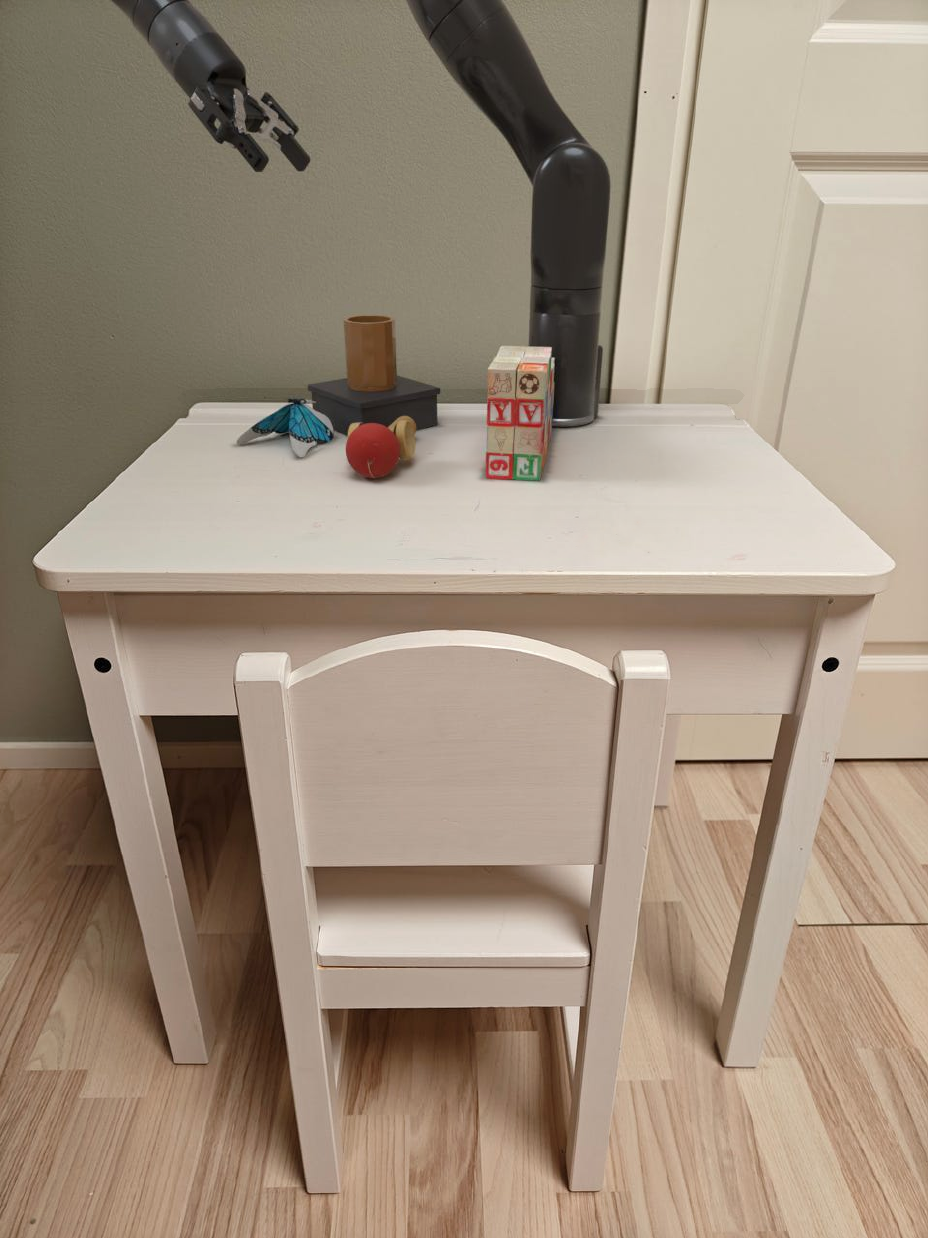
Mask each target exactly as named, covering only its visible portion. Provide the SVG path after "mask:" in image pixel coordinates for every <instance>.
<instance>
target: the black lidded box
mask: <svg viewBox="0 0 928 1238" xmlns="http://www.w3.org/2000/svg"><path fill="white" fill-rule="evenodd" d="M307 391H308V392H311V401H314V402H316V403H311V404H312V406H311V407H312V408H313V409H314V410H315V411H317V412H319V413H322V414H324V415H325V416H327V417H328V418H329V420H330V422H331V424H332V427H333V431H335V432H337V433H341V434H342V435H345V436H348V430H349V427H350V425H351V424H352V423H359V422H362V423H364V424H366V423H377V424H381V425H384V426H386V427H387V428H388V427H389V426H390V425H391V424H392V423H393V422H395V420H396V419H397V418H399V417H401V416H409V417H411V418H412V419H413V420H414V422H415V424H416V431H419V430H422V429H427V428H431V427H436V426H438V395H440V394H441V388H440V387H438V386H434V385H431V384H429V383H425V382H421V381H418V380H414V379H411V378H408V377H404V376H401V375H398V374H397V386H396V387H395V388H394V389H391V390H387V391H380V392H362V391H355V390H352V389H350V388H348V382H347V377H345V378H339V379H334V380H327V381H321V382H315V383H309V384H307Z"/></svg>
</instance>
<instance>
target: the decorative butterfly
mask: <svg viewBox="0 0 928 1238" xmlns="http://www.w3.org/2000/svg"><path fill="white" fill-rule="evenodd" d="M263 399H266V396H263ZM269 399H270V400H271V399H272V400H273V398H272V397H269ZM284 402H287V403H288V404H285V405H284V406H282V407H281V408H279V409H278V410H276V411H274V412H272V413H271V414H269V415H268V416H266V417H264V418H262V419H261V420H259V421H258V422H256V423H255V424H254V425H252V426H251V427H250V428H249V429H247V430H245V432H244V433H242V434H241V435H240V436H239V437H238V438H237V440H236V444H237V445H244V444H246V443H249V442H251V441H253V440H255V439H258V438H263V437H267V436H269V435H271V434H273V433H274V434H278V435H282V434H288V433H289V440H290V445H291V448H292V450H293V452H294V454H295V455H296V456H297V457H299V458H304V457H305V456H306V454H307V453H308V451H309V449H311V448H312V447H314V446H316V445H317V444H318V442H320V443H323V444H326V443H329V442H331V441H332V440H333V439H334V430H333V427H332V424H331V422H330V420H329V418H328V417H327V416H325V415H324V414H322V413H319V412H317V411H315V410H314V409H313V407H312V406H310V405H308V404H312V403H316V402H314V401H312V399H306V398H297V397H296V398H290V397H289V398H287V399H286V398H285V401H284Z"/></svg>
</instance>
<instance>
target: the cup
mask: <svg viewBox="0 0 928 1238" xmlns="http://www.w3.org/2000/svg"><path fill="white" fill-rule="evenodd" d="M343 334H344V348H345V349H344V350H345V367H346V378H347V382H348V388H350V389H352V390H355V391H362V392H380V391H387V390H391V389H394V388H395V387H396V386H397V375H398V370H397V369H398V367H397V345H396V344H397V341H396V319H395V317H393V316H388V315H383V314H381V315H380V314H362V315H361V314H360V315H351V316H347V317H345V318H344V319H343Z"/></svg>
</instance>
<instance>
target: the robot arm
mask: <svg viewBox="0 0 928 1238" xmlns="http://www.w3.org/2000/svg"><path fill="white" fill-rule="evenodd" d="M110 1H111V2H112V4H113V5H115V6H116V7H117V8H118V9H119V10H120V11H121V12H122V13H123V14H124V15H125V16H126V18H127V19H128V20H129V22H130V23H131V24H132V26H133V27H134V29H135V30H136V31H137V32H138V33H139V35H140V36H141V37H142V39H143V40H144V41H145V42H146V43H147V45H149V48H151V50H152V51H153V52H154V54H155V55H156V57H157V59H158V60H159V62H160V63H161V65H162V66H163V68H164V69H165V70H166V71H167V73H168V74H169V75H170V76H171V78H172V79H173V80H174V81H175V82H176V84H177V85H178V86H179V87H180V88H181V90H182V91H183V92H184V93H185V95H186V96H187V97H188V98H189V101H188V103H187V105H188V107H189V109H190V110H191V111H192V112H193V114H194V115H195V116H196V117H197V119H198V120H199V121H200V123H201V124H202V125H203V126H204V128H205V129H206V130H207V131H208V133H209V134H210V136H211V137H212V138H213V140H214V141H215V142H216V143H218V144H220V145H224V143H225V142H226V143H227V144H228V146H229V147H231V148H232V149H236V150H237V151H238V153H240V156H242V157H243V159H244V160H245V161H246V163H248V164H249V166H250V167H251V168H252V169H253V171H254V172H256V173H262V172H264V170H265V168H266V167H267V165H268V164H269V161H270V159H269V155H267V153H266V152H265V151H264V150H263V148H262V147H261V146H260V144H259V143H258V142H257V141H256V140H255V138H254V137H253V136H252V135H251V133H252V134H253V135H255V136H256V137H258V138H259V139H260V140H261V141H269V142H270V143H272V144H273V145H275V146H276V147H277V148H279V150H280V151H281V153H282V154H283V156H284V157H285V158H286V159H287V160H288V162H289V163H290V164H291V165H292V167H293V168H294V169H295V170H296V171H297V172H298V173H299V172H305V170H306V169H307V168H308V167H309V165H310V163H311V156H310V155H309V154H308V153H307V152H306V150H305V149H304V148H303V146H302V145H301V144H300V143H299V142H298V140H297V139H296V138H295V136H296V135H297V133H299V131H300V128H299V126H298V125H297V123H296V122H294V121H293V119H292V118H291V117H290V116H289V115H288V113H287V112H286V111H285V110H284V108H283V107H282V106H281V105H280V104H279V103H278V101H277V100H276V99H275V98H274V97H273V96H272V94H270V93H269V92H267V91H265V92H264V93H263V95H262V96H261V97H259V96H258V94H256V93H255V92H254V91H252V90H251V89H250V88H248V86H247V70H246V67H245V65H244V63H243V62H242V61H241V60H240V58H239V56H238V55H237V54H236V53H235V52H234V50H233V49H232V47H230V46H229V44H228V43H227V42H226V41H225V39H224V37H222V36H221V34H220V33H219V32H218V31H217V30H216V28H215V27H214V26H213V25H212V23H211V22H210V21H209V20H208V18H206V16H205V15H204V14H203V13H202V12H200V10H199V9H197V8H196V6H194V5H193V3H192V2H191V1H190V0H110ZM405 1H406V3H407V5H408V9H409V10H410V13H411V15H412V17H413V19H414V21H415V23H416V24H417V26H418V28H419V30H420V31H421V33H422V35H423V37H424V38H425V40H426V42H427V43H428V44H429V46H430V47H431V49H432V50H433V52H434V53H435V55H436V56H437V58H438V59H439V60H440V62H441V64H442V65H443V67H444V68H445V69H446V71H447V72H448V73H449V75H450V76H451V78H452V79H453V80H454V82H455V83H456V85H458V87H459V88H460V89H461V90H462V92H463V93H464V94H465V95H466V97H468V99H469V100H470V101H471V102H472V104H473V105H474V106H475V107H476V108H477V109H478V110H479V111H480V112H481V113H482V115H484V116H485V117H486V119H487V120H488V121H489V122H490V123H491V124H492V125H493V126H494V127H495V129H496V130H497V131H498V132H499V133H500V134H501V136H502V137H503V138H504V139H505V141H506V143H507V144H508V145H509V147H510V148H511V150H512V151H513V153H514V155H515V157H516V158H517V160H518V162H519V163H520V165H521V167H522V169H523V171H524V173H525V174H526V176H527V178H528V180H529V182H530V184H531V186H532V192H531V193H532V195H531V197H532V198H531V221H530V222H531V224H530V225H531V226H530V232H531V233H530V293H529V321H528V322H529V324H528V344H527V345H528V346H527V347H552V355H551V358H555V367H554V404H553V420H552V427H559V428H560V427H561V428H565V427H566V428H569V427H579V426H583V425H587V424H590V423H592V422H593V421H594V418H598V417H599V405H600V393H601V379H602V367H603V357H604V356H603V355H604V348H603V346H602V345H601V344H600V343H599V342H600V341H599V340H600V329H601V328H600V327H601V314H602V300H603V286H604V278H605V277H604V276H605V268H606V267H605V266H606V259H607V258H606V257H607V241H608V228H609V217H610V206H611V205H610V204H611V192H612V191H611V190H612V189H611V188H612V180H611V173H610V169H609V165H608V164H607V162H606V160H605V158H604V157H603V156H602V155H601V153H599V152H598V151H597V150H596V149H595V148H594V147H593V146H592V145H591V144H590V142H588V140H587V139H586V138H585V137H584V136H583V134H582V133H581V132H580V131H579V129H578V128H577V126H575V124H574V123H573V122H572V120H571V119H570V118H569V116H568V115H567V113H565V111H564V110H563V108H562V107H561V106H560V104H559V103H558V101H557V100H556V98H555V97H554V95H553V93H552V92H551V90H550V88H549V86H548V84H547V82H546V80H545V77H544V75H543V74H542V71H541V69H540V67H539V65H538V63H537V61H536V58H535V56H534V54H533V52H532V50H531V49H530V47H529V44H528V42H527V40H526V39H525V37H524V35H523V33H522V30H520V27H519V26H518V23H517V22H516V20H515V19H514V17H513V14H512V13H511V11H510V10H509V8H508V7H507V5H506V4H505V2H504V0H405ZM216 121H218V122H219V123H220V124H219V126H218V128H217V127H216V125H215V123H216ZM264 123H265V125H264V127H263V128H261V127H262V125H263V124H264ZM247 132H248V133H247Z"/></svg>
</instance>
